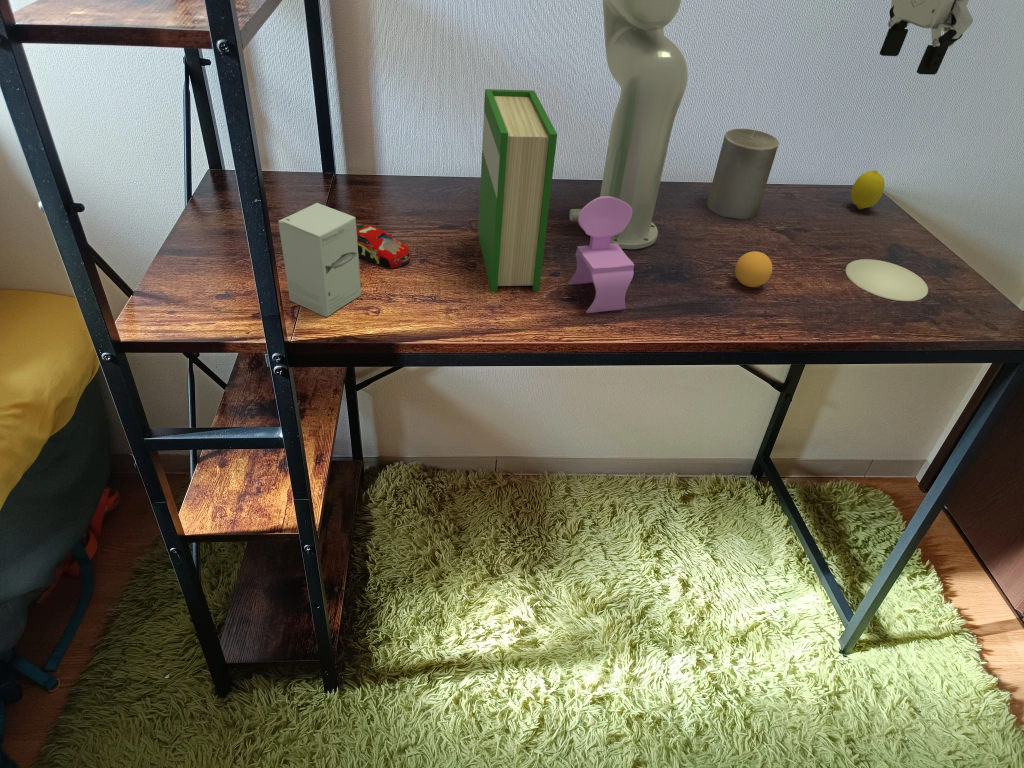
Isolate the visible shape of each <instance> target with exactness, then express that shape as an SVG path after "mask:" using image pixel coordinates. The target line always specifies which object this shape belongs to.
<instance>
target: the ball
mask: <svg viewBox="0 0 1024 768" xmlns="http://www.w3.org/2000/svg"><path fill="white" fill-rule="evenodd" d="M734 274H735V277H736V279H737V281H738V282H739V283H741V284H742V285H744V286H745V287H748V288H758V287H760V286H761V287H762V286H763V285H765V284H766V283H767V282H768V281H769V280H770V278H771V277H772V274H773V263H772V261H771V259H770V258H769V256H768V255H766V254H765V253H763V252H761V251H749V252H746V253H744V254H743V255H741V256H740V258H739V259H738V260H737V262H736V264H735V268H734Z"/></svg>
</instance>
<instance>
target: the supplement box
mask: <svg viewBox="0 0 1024 768" xmlns="http://www.w3.org/2000/svg"><path fill="white" fill-rule="evenodd" d="M356 221H357V219H356V217H355V216H353V215H351V214H348V213H345V212H343V211H341V210H340V211H339V210H337V209H335V208H331V207H329V206H327V205H324V204H321V203H319V202H315V203H313V204H311V205H309V206H307V207H305V208H303V209H300V210H299V211H296V212H295V213H292V214H290V215H288V216H286V217H283V218H282V219H279V220H278V221H277V222H278V229H279V235H280V236H279V237H280V241H281V249H282V257H283V262H284V271H285V277H286V282H287V290H288V296H289V297H288V298H289V300H290V302H293V303H294V304H298V305H299V306H301V307H303V308H306V309H308V310H310V311H311V312H314V313H316V314H318V315H320V316H323V317H325V318H328V317H330V316H331V315H332V314H333V313H335V312H336V311H338V310H340V309H341V308H343V307H345V306H346V305H347V304H349V303H350V302H352V301H353V300H354V301H355V300H356V299H357V298H359V297H361V296H362V289H361V287H362V286H361V276H360V275H361V274H360V262H359V261H360V259H359V256H358V244H357V231H356V224H357V222H356Z"/></svg>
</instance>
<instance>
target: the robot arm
mask: <svg viewBox="0 0 1024 768" xmlns="http://www.w3.org/2000/svg"><path fill="white" fill-rule="evenodd" d="M681 2H682V0H602V10H603V11H602V13H603V14H602V15H603V28H604V29H603V31H604V45H605V46H604V47H605V55H606V62H607V67H608V70H609V72H610V74H611V76H612V78H613V79H614V80H615V81H616V82H617V84H618V86H619V87H620V95H619V98H618V102H617V104H616V107H615V111H614V114H613V117H612V121H611V126H610V130H609V137H608V145H607V149H606V151H607V152H606V158H605V162H604V169H603V176H602V181H601V182H602V183H601V187H600V194H599V197H602V196H610V197H614V198H617V199H620V200H622V201H624V202H625V203H627V204H628V205H629V206H630V207H631V209H632V217H631V220H630V222H629V223H628V225H627V226H626V228H625V229H624V231H623V232H621V233H619V234H617V235H614V236H612V238H611V242H610V244H614V243H617V244H618V245H619V246H620V247H621V249H622V250H639V249H645V248H647V247H649V246H652V245H653V244H654V243H656V241H657V238H658V235H659V229H658V227H657V226H656V224H655V223H654V222H653V217H654V211H655V208H656V202H657V199H658V194H659V190H660V185H661V179H662V175H663V172H664V167H665V162H666V158H667V153H668V148H669V147H668V146H669V143H670V139H671V134H672V131H673V127H674V122H675V119H676V116H677V114H678V112H679V111H678V110H679V108H680V105H681V103H682V100H683V98H684V95H685V92H686V90H687V83H688V78H689V76H688V73H689V72H688V65H687V62H686V58H685V57H684V54H683V53H682V51H681V50H680V49H679V47H678V46H677V45H676V44H675V43H674V42H673V41H671V40H670V39H669V38H668V37H667V36H665V34H664V33H665V31H664V30H665V29H664V28H665V27H666V26H668V25H669V24H670V23H671V22H672V20H673V19H674V18H675V17H676V15H677V14H678V12H679V9H680V7H681ZM969 2H970V0H891V5H890V6H891V8H890V9H889V20H888V23H887V26H888V31H887V33H886V35H885V39H884V40H883V43H882V46H881V48H880V50H879V55H880V56H882V57H898V56H899V54H900V52H901V50H902V47H903V46H904V43H905V40H906V38H907V35H908V32H909V29H908V28H907V27H909V25H910V24H912V25H914V26H917V27H919V28H922V29H926V30H927V29H931V32H930V33H931V34H930V35H931V44H927V46H926V48H925V50H924V53H923V55H922V57H921V60H920V62H919V64H918V66H917V69H916V73H917V74H919V75H930V76H931V75H932V76H933V75H934V76H935V75H937V73H939V72H938V71H939V69H940V67H941V64H943V60H944V58H945V56H946V54H947V52H948V49H949V48H952V47H953V46H954V43H955V42H957V41H958V40H960V39H961V38H962V36H963V34H964V33H965V32H966V31H967V30H968V29H969V27H970V26H971V25H972V24H973V22H974V19H973V16H972V14H971V13H970V10H969V9H968V7H967V6H968V4H969ZM942 32H943V34H942ZM581 210H582V209H581V208H573V209H571V208H570V210H569V220H570V221H572V222H573V221H577V222H578V215H579V213H580V211H581Z"/></svg>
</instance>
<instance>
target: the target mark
mask: <svg viewBox="0 0 1024 768" xmlns="http://www.w3.org/2000/svg"><path fill="white" fill-rule="evenodd" d="M845 274H846V276H847V278H848V280H850V282H852V284H854V285H855V286H856V287H858V288H860V290H861V289H862V290H863V291H865V292H867V293H868V294H872V295H874V296H877V297H880V298H883V299H886V300H891V301H898V302H916V301H919V300H922V299H924V298H925V297H926V296H927V295H928V293H929V288H928V285H927V283H926V282H925V281H924V279H922V277H920V276H919V275H917V274H916V273H914V272H913V271H911V270H909V269H907V268H905V267H902V266H900V265H899V264H895V263H892V262H889V261H884V260H878V259H871V258H870V259H869V258H868V259H867V258H864V259H862V258H861V259H856V260H853V261H850V262H849V263H848V264H847V265H846V268H845Z"/></svg>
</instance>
